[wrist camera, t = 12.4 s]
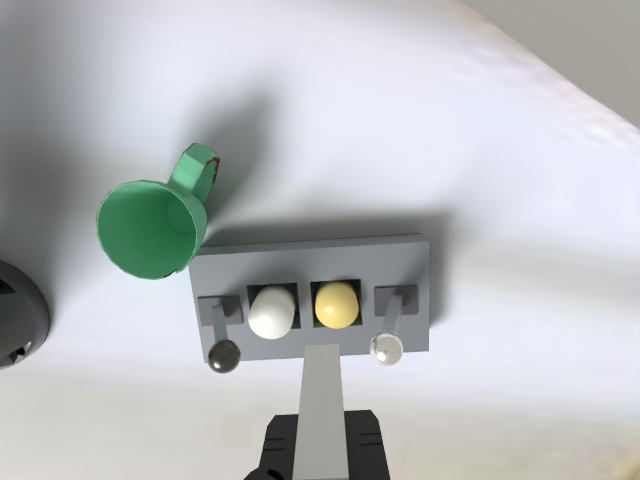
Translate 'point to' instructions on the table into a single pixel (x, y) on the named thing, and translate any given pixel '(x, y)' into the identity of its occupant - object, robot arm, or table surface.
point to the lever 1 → (222, 345)
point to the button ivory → (272, 312)
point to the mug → (159, 218)
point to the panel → (304, 268)
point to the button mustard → (336, 303)
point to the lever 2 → (389, 335)
